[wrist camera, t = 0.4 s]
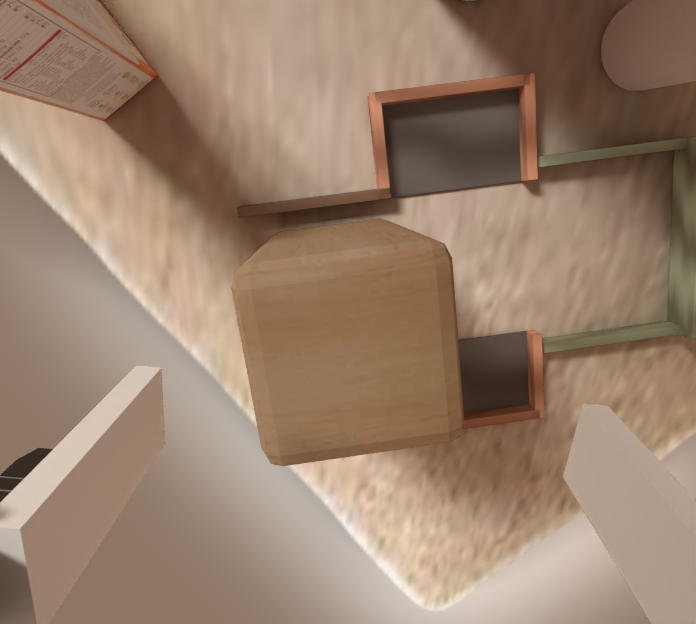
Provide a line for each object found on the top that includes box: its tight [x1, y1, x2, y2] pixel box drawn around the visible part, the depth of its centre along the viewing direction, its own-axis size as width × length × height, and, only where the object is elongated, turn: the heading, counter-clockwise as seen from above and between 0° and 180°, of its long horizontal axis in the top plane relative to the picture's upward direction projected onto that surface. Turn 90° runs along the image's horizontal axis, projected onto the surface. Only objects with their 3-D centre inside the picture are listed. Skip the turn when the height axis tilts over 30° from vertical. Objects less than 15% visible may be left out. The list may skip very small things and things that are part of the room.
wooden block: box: [232, 218, 464, 466], centre depth 32 cm, size 10×10×20 cm
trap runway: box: [237, 73, 696, 429], centre depth 40 cm, size 29×37×3 cm
